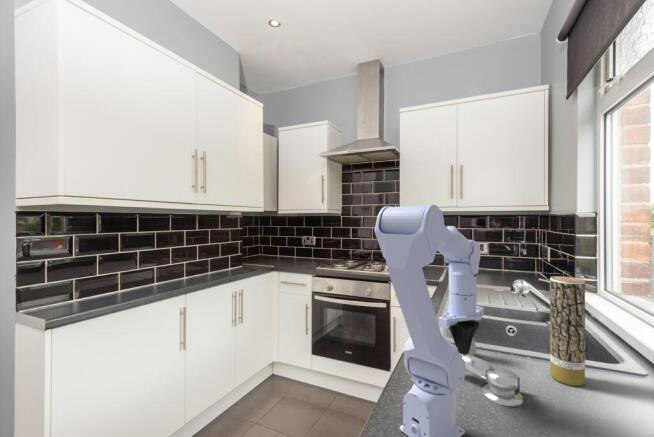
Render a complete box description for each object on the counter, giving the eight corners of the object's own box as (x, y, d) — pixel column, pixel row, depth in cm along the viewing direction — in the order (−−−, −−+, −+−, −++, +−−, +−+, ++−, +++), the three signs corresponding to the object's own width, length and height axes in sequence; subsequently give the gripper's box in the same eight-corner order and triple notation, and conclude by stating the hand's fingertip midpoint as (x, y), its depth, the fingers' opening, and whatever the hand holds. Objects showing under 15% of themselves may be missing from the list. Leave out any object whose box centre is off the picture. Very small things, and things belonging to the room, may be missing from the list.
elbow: (522, 387, 69) (522, 369, 69) (509, 396, 65) (509, 377, 65) (460, 361, 81) (460, 346, 81) (446, 368, 78) (446, 352, 78)
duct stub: (512, 411, 64) (512, 394, 64) (475, 393, 71) (475, 378, 71) (531, 397, 69) (531, 381, 69) (494, 381, 76) (494, 367, 76)
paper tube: (591, 389, 72) (591, 282, 72) (558, 386, 74) (558, 281, 73) (574, 374, 79) (574, 276, 79) (544, 371, 80) (544, 276, 80)
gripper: (460, 301, 62) (460, 369, 62) (496, 291, 70) (497, 350, 70) (430, 294, 68) (430, 356, 68) (467, 285, 76) (467, 340, 76)
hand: (462, 353), depth 69 cm, fingers closed
